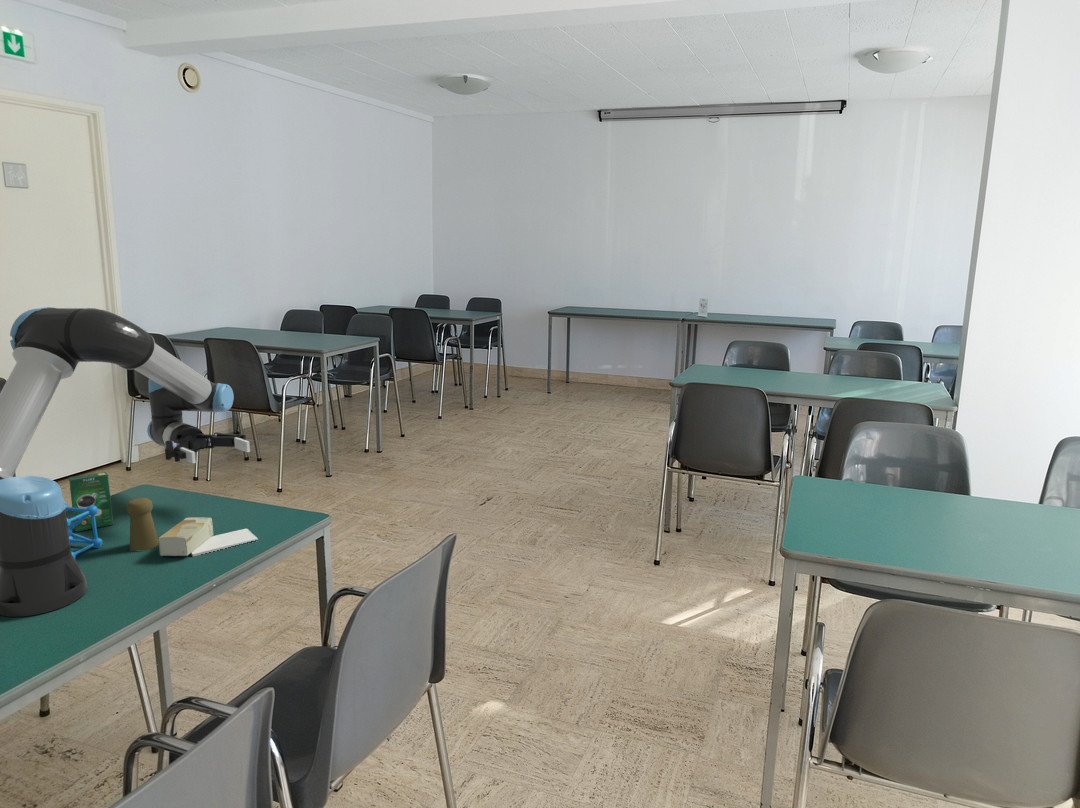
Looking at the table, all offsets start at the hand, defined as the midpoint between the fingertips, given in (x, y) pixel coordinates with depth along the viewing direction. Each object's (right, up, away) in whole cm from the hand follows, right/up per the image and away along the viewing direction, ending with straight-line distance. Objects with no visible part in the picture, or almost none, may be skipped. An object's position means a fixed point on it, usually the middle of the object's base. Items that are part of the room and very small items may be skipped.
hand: (221, 452), depth 184 cm
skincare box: (-1, -16, -9) cm, 19 cm away
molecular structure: (-27, -21, -17) cm, 38 cm away
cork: (-12, -20, -13) cm, 27 cm away
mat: (+5, -20, -12) cm, 24 cm away
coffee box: (-30, -18, -2) cm, 35 cm away
